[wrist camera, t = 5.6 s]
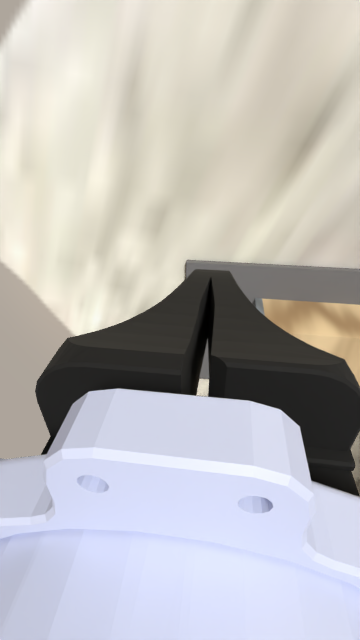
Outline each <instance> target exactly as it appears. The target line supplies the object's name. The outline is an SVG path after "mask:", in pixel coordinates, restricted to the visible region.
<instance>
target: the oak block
mask: <svg viewBox="0 0 360 640" xmlns="http://www.w3.org/2000/svg"><path fill="white" fill-rule="evenodd" d="M254 306H255V307H256V308H257V309H258V310H259V311H260V312H261V313H262V314H263V315H264V316H266V317H267V318H268V319H269V320H270V321H272V322H273V323H274V324H276V325H277V326H279V327H280V328H282V329H283V330H285V331H286V332H288V333H289V334H291V335H293V336H294V337H296V338H298V339H300V340H302V341H304V342H306V343H308V344H310V345H311V346H314V347H316V348H318V349H321V350H323V351H325V352H328V353H330V354H333V355H335V356H338V357H340V358H343V359H345V361H346V362H347V364H348V366H349V368H350V369H351V371H352V372H353V374H354V376H355V378H356V380H357V382H358V384H359V386H360V305H355V304H340V303H324V302H308V301H292V300H277V299H261V298H255V302H254Z"/></svg>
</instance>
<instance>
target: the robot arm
mask: <svg viewBox="0 0 360 640" xmlns="http://www.w3.org/2000/svg"><path fill="white" fill-rule="evenodd" d="M207 339H208V360H209V393H208V397H206V396H196V394H197V388H198V382H199V377H200V372H201V368H202V363H203V358H204V354H205V349H206V344H207ZM35 392H36V397H37V402H38V404H39V407H40V410H41V412H42V415H43V417H44V420H45V422H46V425H47V428H48V430H49V433H50V436H51V437H50V439H49V441H48V442H47V444H46V446H45V448H44V450H43V452H42V454H41V455H37V456H28V457H20V458H11V459H0V640H360V497H359V493H358V490H357V487H356V484H355V481H354V478H353V475H352V472H351V471H353V470H354V468H355V462H354V459H353V456H352V453H351V450H350V449H351V447H352V445H353V443H354V441H355V439H356V437H357V435H358V433H359V431H360V386H359V384H358V382H357V380H356V378H355V376H354V374H353V372H352V371H351V369H350V368H349V366H348V364H347V362H346V361H345V359H343V358H340V357H338V356H335V355H333V354H330V353H328V352H325V351H323V350H321V349H318V348H316V347H314V346H311V345H310V344H308V343H306V342H304V341H302V340H300V339H298V338H296V337H294V336H293V335H291V334H289V333H288V332H286V331H285V330H283V329H282V328H280V327H279V326H277V325H276V324H274V323H273V322H272V321H270V320H269V319H268V318H267V317H266V316H264V315H263V314H262V313H261V312H260V311H259V310H258V309H257V308H256V307H255V306H254V305H253V304H252V303H251V302H250V301H249V299H248V298H247V297H246V295H245V294H244V293H243V291H242V290H241V289H240V287H239V286H238V284H237V283H236V281H235V279H234V277H233V275H232V274H231V272H230V271H225V270H205V269H195V270H194V271H193V272H192V273H191V274H190V275H189V276H188V277H187V278H186V279H185V280H184V281H183V282H182V283H181V284H180V285H179V286H178V287H177V288H176V289H175V290H174V291H173V292H172V293H171V294H170V295H168V296H167V297H166V298H165V299H163V300H162V301H161V302H159V303H158V304H157V305H155V306H153V307H152V308H150V309H148V310H147V311H145V312H143V313H141V314H139V315H137V316H135V317H133V318H131V319H129V320H127V321H124V322H122V323H119V324H117V325H114V326H111V327H108V328H105V329H102V330H99V331H95V332H91V333H87V334H83V335H79V336H75V337H70V338H67V339H66V341H65V342H64V343H63V344H62V346H61V347H60V348H59V349H58V351H57V352H56V354H55V355H54V357H53V358H52V360H51V361H50V363H49V364H48V366H47V367H46V369H45V370H44V372H43V373H42V375H41V376H40V378H39V379H38V381H37V385H36V390H35Z"/></svg>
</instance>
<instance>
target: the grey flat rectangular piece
mask: <svg viewBox="0 0 360 640" xmlns="http://www.w3.org/2000/svg"><path fill="white" fill-rule="evenodd" d="M195 269H205V270H225V271H230V272H231V274H232V275H233V277H234V279H235V281H236V283H237V284H238V286H239V287H240V289H241V290H242V291H243V293H244V294H245V295H246V297H247V298H248V299H249V301H250V302H251V303H252V304H253V305H254V302H255V298H261V299H277V300H292V301H308V302H324V303H340V304H355V305H360V269H349V268H330V267H311V266H292V265H273V264H253V263H234V262H215V261H196V260H187V262H186V278H187V277H188V276H189V275H190V274H191V273H192V272H193V271H194V270H195ZM199 378H203V379H209V360H208V339H207V344H206V349H205V354H204V358H203V363H202V368H201V372H200V377H199Z"/></svg>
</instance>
